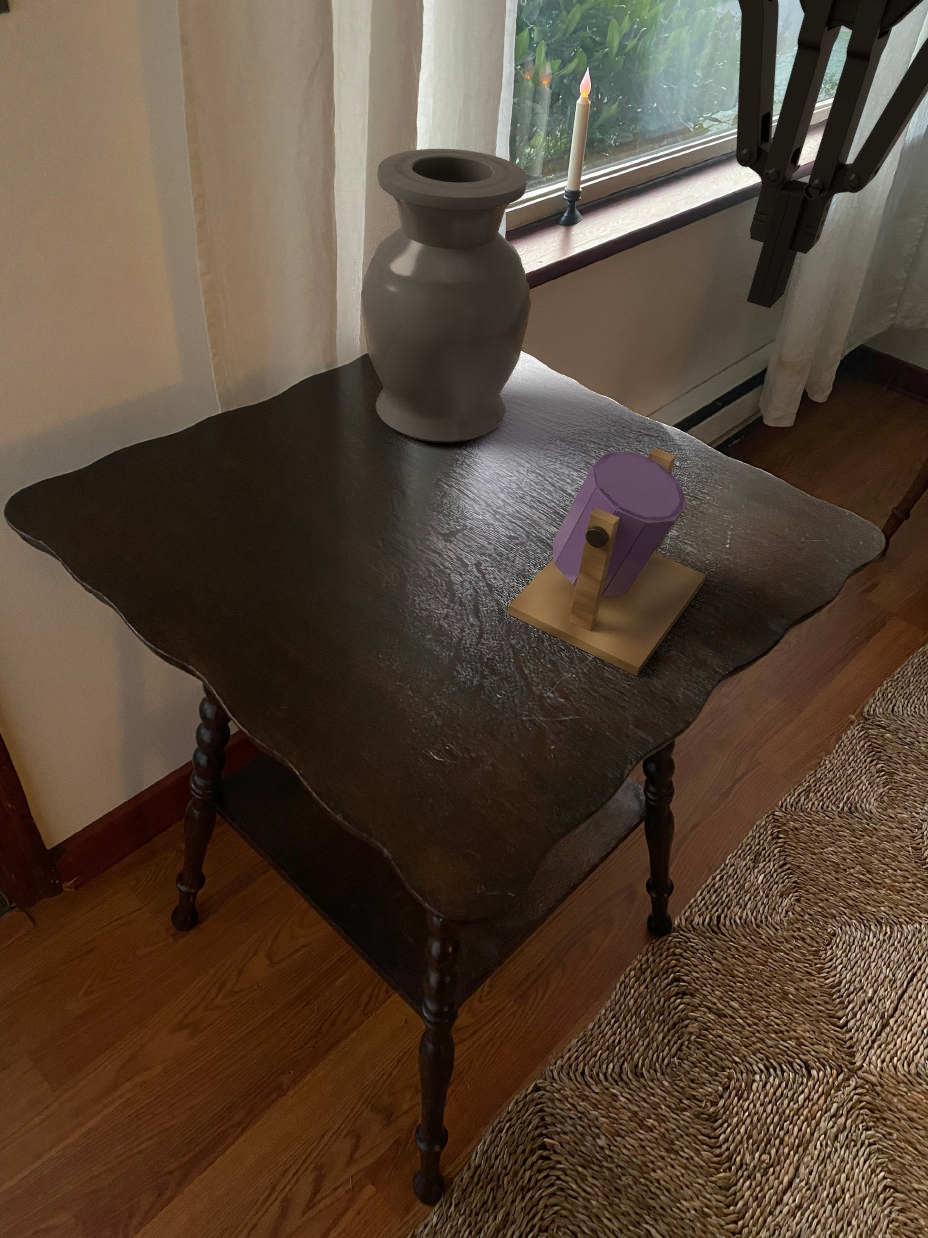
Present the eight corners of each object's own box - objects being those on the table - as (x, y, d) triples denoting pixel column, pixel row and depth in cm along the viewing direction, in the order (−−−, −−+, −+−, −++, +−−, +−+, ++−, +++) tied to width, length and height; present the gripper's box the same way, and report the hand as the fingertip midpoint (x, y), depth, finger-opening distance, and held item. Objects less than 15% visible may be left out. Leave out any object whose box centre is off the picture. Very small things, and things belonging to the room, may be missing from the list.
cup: (624, 433, 73) (583, 510, 79) (571, 484, 67) (532, 562, 74) (702, 486, 71) (654, 559, 78) (656, 542, 66) (608, 616, 72)
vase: (348, 383, 101) (341, 142, 84) (488, 369, 106) (509, 137, 88) (384, 464, 90) (384, 205, 73) (539, 445, 94) (574, 196, 77)
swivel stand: (703, 583, 80) (740, 470, 71) (636, 676, 71) (670, 559, 63) (584, 532, 84) (606, 419, 76) (507, 613, 75) (522, 497, 67)
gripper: (752, -234, 40) (645, 287, 56) (1069, -210, 35) (852, 351, 51) (804, -227, 44) (691, 252, 61) (1090, -205, 40) (885, 307, 56)
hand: (765, 297), depth 56 cm, fingers closed
